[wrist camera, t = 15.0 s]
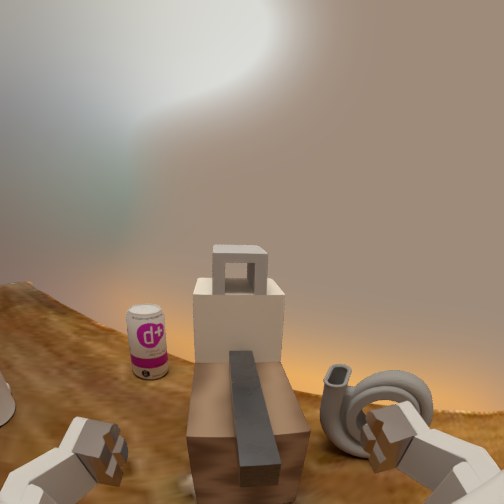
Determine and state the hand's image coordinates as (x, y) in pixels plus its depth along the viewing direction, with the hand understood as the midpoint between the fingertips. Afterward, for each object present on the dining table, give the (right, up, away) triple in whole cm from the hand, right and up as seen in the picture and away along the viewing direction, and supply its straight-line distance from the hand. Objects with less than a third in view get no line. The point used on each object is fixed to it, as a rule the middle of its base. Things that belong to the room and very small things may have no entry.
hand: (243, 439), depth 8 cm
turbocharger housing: (+18, -25, +27) cm, 41 cm away
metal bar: (0, -11, +19) cm, 22 cm away
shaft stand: (-3, -23, +38) cm, 44 cm away
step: (-1, -24, +25) cm, 35 cm away
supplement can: (-22, -21, +51) cm, 59 cm away
